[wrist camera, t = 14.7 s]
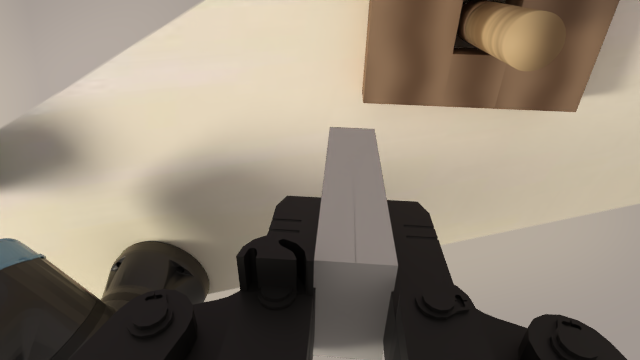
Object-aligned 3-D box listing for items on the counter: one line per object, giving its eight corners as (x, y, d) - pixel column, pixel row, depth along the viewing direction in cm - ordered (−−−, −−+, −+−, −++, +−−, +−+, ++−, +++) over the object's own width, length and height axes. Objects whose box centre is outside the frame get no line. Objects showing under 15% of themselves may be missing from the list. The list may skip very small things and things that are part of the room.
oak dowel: (450, 40, 38) (498, 70, 26) (458, -2, 36) (513, 10, 24) (488, 41, 38) (554, 72, 26) (498, 0, 36) (574, 12, 24)
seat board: (362, 92, 42) (363, 103, 38) (375, -76, 34) (379, -81, 30) (556, 100, 41) (575, 112, 37) (617, -71, 33) (649, -77, 29)
